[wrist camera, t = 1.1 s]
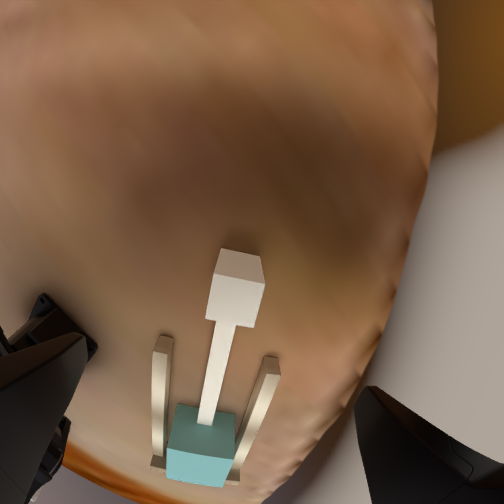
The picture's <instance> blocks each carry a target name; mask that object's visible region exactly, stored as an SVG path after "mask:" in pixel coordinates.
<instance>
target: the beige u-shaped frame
mask: <svg viewBox="0 0 504 504" xmlns="http://www.w3.org/2000/svg"><path fill="white" fill-rule="evenodd" d="M173 340H174V338H170V337H166V336H162V335H160V337H159V339H158V341H157V343H156V345H155V347H154V350H153V359H152V443H153V457H152V460H151V464H150V469H151V470H153V471H157V472H161V473H165V474H166V464H167V445H168V443H166V438H167V415H168V398H169V384H170V372H171V360H172V350H173ZM280 377H281V372H280V367H279V361H278V358H274V357H267V356H264V359H263V362H262V365H261V368H260V371H259V374H258V377H257V380H256V383H255V386H254V389H253V392H252V395H251V398H250V401H249V404H248V406H247V409H246V412H245V415H244V418H243V421H242V423H241V426H240V429H239V432H238V434H237V437H236V440H235V447H234V462H233V464H232V466H231V469H230V471H229V473H228V475H227V478H226V480H225V482H224V484H232V485H238V484H239V482H240V468H241V466H242V464H243V462H244V460H245V458H246V456H247V454H248V451H249V449H250V447H251V445H252V443H253V441H254V438H255V436H256V434H257V432H258V430H259V427H260V425H261V423H262V420H263V418H264V416H265V413H266V411H267V409H268V406H269V404H270V401H271V399H272V397H273V394H274V392H275V389H276V387H277V384H278V382H279V379H280Z"/></svg>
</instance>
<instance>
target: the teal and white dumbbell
mask: <svg viewBox="0 0 504 504" xmlns="http://www.w3.org/2000/svg"><path fill="white" fill-rule="evenodd" d="M264 287H265V280H264V275H263V270H262V265H261V260H260V256H256V255H252V254H247V253H242V252H237V251H233V250H228V249H223V248H221V250H220V253H219V257H218V260H217V264H216V267H215V270H214V274H213V279H212V284H211V290H210V295H209V300H208V306H207V311H206V317H205V319H209V320H214V321H216V325H215V330H214V335H213V340H212V345H211V350H210V355H209V360H208V365H207V370H206V376H205V381H204V386H203V392H202V397H201V403H200V408H196V407H191V406H186V405H182V404H177V407H176V411H175V415H174V420H173V424H172V428H171V432H170V436H169V441H168V445H167V464H166V478H169V479H174V480H178V481H183V482H188V483H194V484H200V485H207V486H214V487H223V485H224V482H225V480H226V478H227V475H228V473H229V471H230V469H231V466H232V464H233V462H234V447H235V414H230V413H224V412H218V411H215V410H216V406H217V402H218V398H219V393H220V389H221V385H222V381H223V377H224V373H225V369H226V365H227V360H228V356H229V352H230V348H231V344H232V340H233V336H234V331H235V327H236V325H239V326H245V327H250V328H254V324H255V321H256V317H257V313H258V310H259V306H260V302H261V299H262V295H263V291H264Z"/></svg>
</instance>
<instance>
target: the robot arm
mask: <svg viewBox="0 0 504 504" xmlns="http://www.w3.org/2000/svg"><path fill="white" fill-rule="evenodd" d="M43 299H44V300H43ZM3 332H4V331H3V330H2V328H1V326H0V504H28V503H29V501H30V500H31V498H32V497H33V495H34V494H35V493H36V491H37V490H38V489H40V488H41V487H42V486H43V485H44V484H45V483H47V482H49V481H50V480H51V479H52V476H53V475H54V474H55V473H56V472H57V471H58V469H59V468H60V466H61V464H62V461H63V457H64V452H65V447H66V442H67V438H68V434H69V429H70V425H71V421H70V420H69V419H68V418H67V417H65V416H64V413H65V411H66V409H67V407H68V405H69V403H70V401H71V400H72V397H73V395H74V392H75V390H76V387H77V385H78V383H79V380H80V378H81V375H82V373H83V371H84V368H85V366H86V364H87V362H88V361H89V360H90V359H91V357H92V356H93V355H94V353H95V352H96V351H97V349H98V348H97V345H96V344H95V343H94V342H93V341H92V340H91V339H90V338H89V337H88V336H87V335H86V334H85V333H83V332H82V331H81V330H80V329H79V328H78V327H77V326H76V325H75V324H74V323H73V322H72V321H71V320H70V319H69V318H68V317H67V316H66V315H65V314H64V313H63V312H62V311H61V310H60V309H59V308H58V307H57V306H56V305H55V303H54V302H53V301H52V300H51V299H50V298H49V297H48V296H47V295H46V294H45V293H42V294H41V295H39V296H38V299H37V301H36V303H35V305H34V308H33V310H32V312H31V315H30V317H29V320H28V322H27V323H26V324H25V325H23V326H22V327H21V328H20V329H19V330H18V331H16V332H15V333H14V334H13V335H12V336H11V337H10V338H8V339H6V337H5V335H4V333H3ZM90 346H91V347H92V348H91V347H90ZM353 408H354V409H353V410H354V417H355V424H356V431H357V438H358V444H359V449H360V453H361V457H362V461H363V466H364V470H365V474H366V478H367V483H368V487H369V492H370V497H371V500H372V504H504V464H503V463H499V462H497V461H495V460H492V459H490V458H488V457H486V456H484V455H482V454H480V453H478V452H476V451H474V450H472V449H471V448H469V447H467V446H465V445H464V444H462V443H460V442H459V441H457V440H455V439H454V438H452V437H451V436H448V434H446V433H445V432H443V431H442V430H440V429H438V428H437V427H435V426H434V425H432V424H431V423H429V422H428V421H426V420H425V419H423V418H422V417H421V416H419V415H418V414H416V413H414V412H413V411H412V410H410V409H409V408H407V407H406V406H404V405H403V404H401V403H400V402H399V401H397V400H396V399H394V398H393V397H391V396H390V395H389V394H387V393H386V392H384V391H383V390H381V389H380V388H379V387H377V386H365V387H364V388H363V389H362V391H361V392H360V394H359V396H358V397H357V399H356V401H355V403H354V407H353Z"/></svg>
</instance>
